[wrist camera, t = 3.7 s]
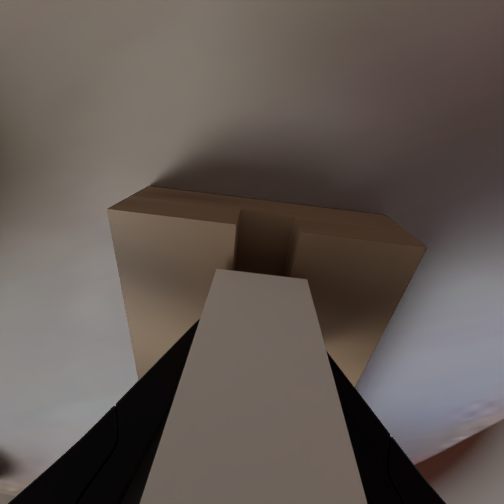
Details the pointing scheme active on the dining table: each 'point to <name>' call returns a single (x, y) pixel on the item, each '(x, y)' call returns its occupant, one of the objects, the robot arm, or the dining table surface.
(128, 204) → the fader track
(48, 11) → the dining table surface
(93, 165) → the dining table surface
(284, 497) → the fader tab
